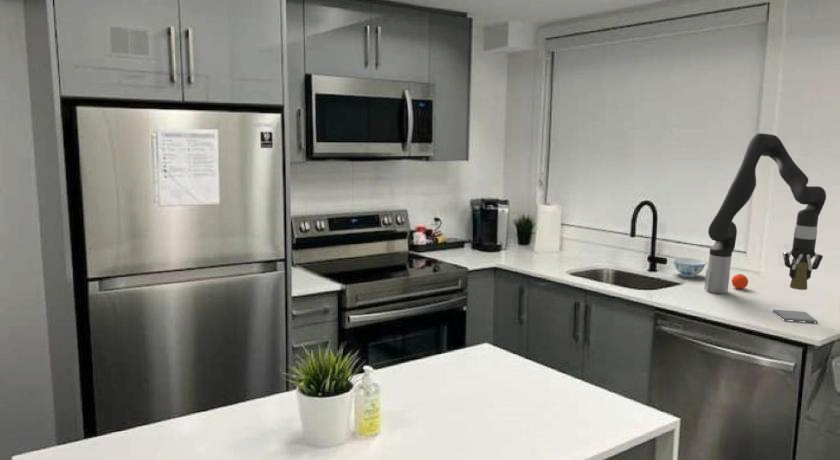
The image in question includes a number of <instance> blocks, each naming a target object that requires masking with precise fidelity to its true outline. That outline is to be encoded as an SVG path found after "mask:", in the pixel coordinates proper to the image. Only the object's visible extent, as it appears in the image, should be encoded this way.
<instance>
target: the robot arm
mask: <svg viewBox="0 0 840 460" xmlns="http://www.w3.org/2000/svg"><path fill="white" fill-rule="evenodd" d="M761 157H769V158H770V159H772V161H774V162H775V163H776V165H777V168H778V172H779V175H780V178H782V180H783V181H784V182H785V183H786V184H787V185H788V186H789V188H790V190H791V193H792V195H793V198H794V200H795V201H796V202H797V203H799V204H801V205H806V206H805V208H804V209H802V210H801V209H800V210H799V211H798V212H797V216H796V224H795V228H794V233H793V241H792V248H791V250H790V251H787V252H785V251H784V252H783V253H782V257H783V262H784V266H785V268H786V267H787V268H788V269H789V272H788V273H789V274H788V275H789V277H790V278H791V280H792V279H794V278H795V268H796V265H798V264H799V262H807V263H808V265H809V268H808V269H807V281H808V280H810V279H811V275H812V271H813V270H818V268H819V266H820V264H821V262H822V260H823V257H824V256H823V255H822V254H821V253H820V254H819V253H816V251H815V249H816V243H817V236H818V235H817V234H818V223H819V216H820V214H821V211H822V210H823V209H824V208H823V207H824V205H825V203H826V200H827V193H826V189H825V188H824V187H822V186H819V185H818V186H817V185H815V186H814V185H813V186H812V185H811V186H810V185H809V186H808V184H809V178H808V176H807V175H806V174H805V173H804V171H803V170H802V169H801V168H800V167H799V166H798V165H797V164H796V162H795V161H794V160H793V159H792V157H791V156H790V154H789V153H788V151H787V149H786V147H785V145H784V143H783V142H782V140H781V138H779V137H778V136H777V135H775V134H771V133H770V134H769V133H761V132H760V133H759V132H758V133H755V134H753V136H752V137H751V138H750V140H749V142H748V144H747V147H746V150H745V153H744V155H743V157H742V161H741V163H740V165H739V167H738V170H737V172H736V175H735V176H734V178H733V181H732V183H731V184H730V187H729V189H728V191H727V194H726V196H725V197H724V199H723V201H722V204H721V207H720V208H719V210H718V212H717V213H716V215H715V216H714V218H713V219H712V221H711V223H710V225H709V226H708V230H707V233H708V236H709V238H710V239H711V240H712V241H714V242H715V243H714V244H713V245H712V246H711V247H710V248H709V254H708V255H709V256H708V263H707V265H708V266H707V268H706V270H705V279H704V289H705V290H706V292H709V293H713V294H714V293H715V294H727V293H728V291H729V284H730V274H731V263H732V255H733V252H734V250H735V247H736V241H737V233H738V230H737V226H736V224H735V222H733V219H734V218H735V216H736V215H737V214H738V213H739V211H741V210H742V208H743V207H744V206H746V204H747V203H748V202H749V201H750V199H751V198H752V195H753V193H754V191H755V189H756V187H757V176H756V168H757V165H758V163H759V160H760V158H761ZM791 256H792V261H791V262H790V258H791ZM813 258H814V260H813V262H812V259H813Z"/></svg>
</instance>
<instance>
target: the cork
mask: <svg viewBox="0 0 840 460" xmlns="http://www.w3.org/2000/svg"><path fill="white" fill-rule="evenodd" d="M808 268H809V265H808V263H807V262H799V264H798V265H796V268H795V278H794V279H792V278H791V281H790V284H789V288H791V289H793V290H797V291H798V290H800V291H805V290H808V280H807V269H808Z"/></svg>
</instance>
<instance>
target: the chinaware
mask: <svg viewBox="0 0 840 460" xmlns="http://www.w3.org/2000/svg"><path fill="white" fill-rule="evenodd" d="M672 260H673V264H674V268H675V269H676V271H677V272H678V273H680V276H681V277H685V278H695V277H696V275H699V274H700V273H701V272H702V271H703V270H704V268H705V266H706V264H707V263H706V261H704V260H701V259H697V258H691V257H675V258H673V259H672Z"/></svg>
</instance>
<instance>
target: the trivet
mask: <svg viewBox="0 0 840 460" xmlns="http://www.w3.org/2000/svg"><path fill="white" fill-rule="evenodd" d="M772 313H774V314H775V313H776V314H777V315H778V316H780V317H781V318H782V319H784V320H793V321H805V322H816V323H817V324H818V319H815V318H814V317H813V316H812V315H810V314H809V313H807V312H806V311H797V310H785V309H784V310H782V309H772ZM776 314H775V315H776ZM777 315H776V316H777ZM778 316H777V317H778ZM780 317H779V318H780ZM781 318H780V319H781ZM782 319H781V320H782ZM816 323H815V324H816Z"/></svg>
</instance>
